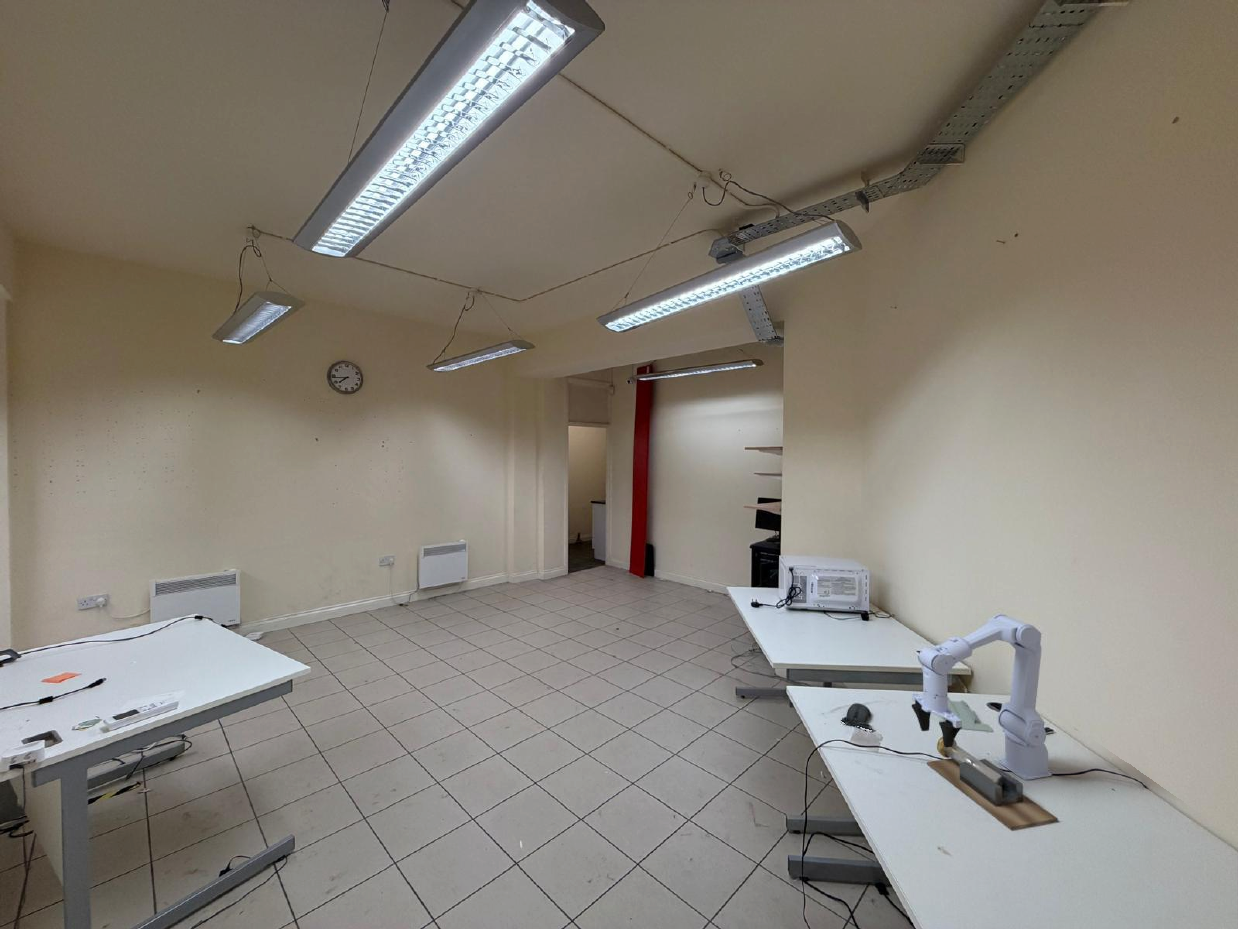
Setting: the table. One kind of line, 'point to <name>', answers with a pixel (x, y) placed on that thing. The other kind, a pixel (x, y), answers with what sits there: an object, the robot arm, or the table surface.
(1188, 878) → the table surface
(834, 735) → the table surface
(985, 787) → the bearing block
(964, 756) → the shaft
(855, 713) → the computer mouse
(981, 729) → the metal bracket
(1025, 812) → the base board
